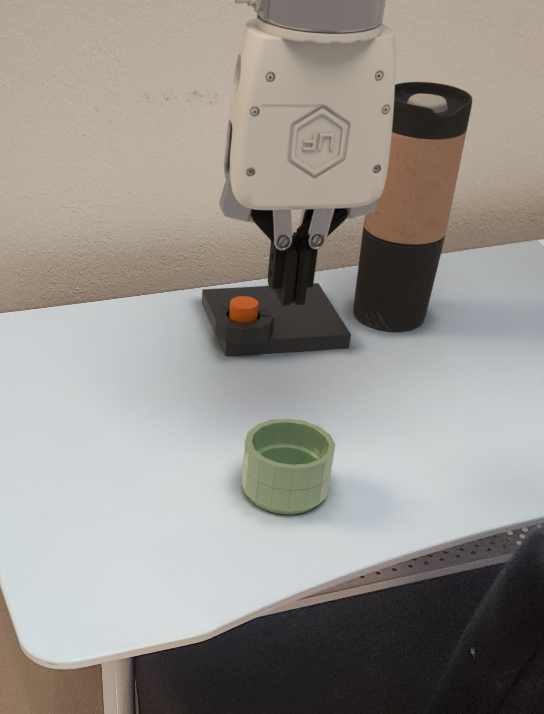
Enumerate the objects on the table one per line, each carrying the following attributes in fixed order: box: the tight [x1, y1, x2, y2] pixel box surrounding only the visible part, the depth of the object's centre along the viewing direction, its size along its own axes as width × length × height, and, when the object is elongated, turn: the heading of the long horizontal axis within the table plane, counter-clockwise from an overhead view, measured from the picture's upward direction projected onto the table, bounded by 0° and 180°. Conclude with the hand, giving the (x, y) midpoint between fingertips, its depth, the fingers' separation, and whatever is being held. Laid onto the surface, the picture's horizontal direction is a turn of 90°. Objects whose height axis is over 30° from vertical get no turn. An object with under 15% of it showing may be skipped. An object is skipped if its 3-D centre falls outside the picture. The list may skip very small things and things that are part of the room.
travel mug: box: [352, 81, 473, 333], centre depth 92 cm, size 8×8×20 cm
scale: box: [201, 282, 352, 357], centre depth 96 cm, size 13×12×3 cm
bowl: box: [241, 418, 336, 515], centre depth 75 cm, size 7×7×4 cm
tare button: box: [229, 296, 259, 323], centre depth 91 cm, size 3×3×2 cm
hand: (288, 296), depth 72 cm, fingers closed
